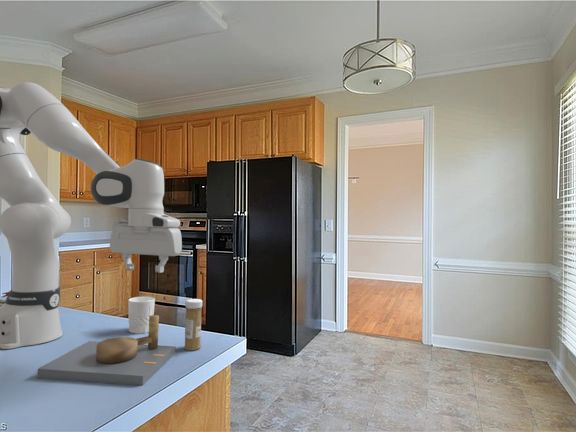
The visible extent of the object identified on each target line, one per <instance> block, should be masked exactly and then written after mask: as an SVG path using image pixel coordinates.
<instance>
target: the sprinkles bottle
mask: <svg viewBox="0 0 576 432" xmlns="http://www.w3.org/2000/svg"><path fill="white" fill-rule="evenodd" d="M202 308H203V300H202V299H200V298H190V299H186V300H185V323H184V349H185V350H187V351H197V350H199V349H200V348H201V336H202Z"/></svg>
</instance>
